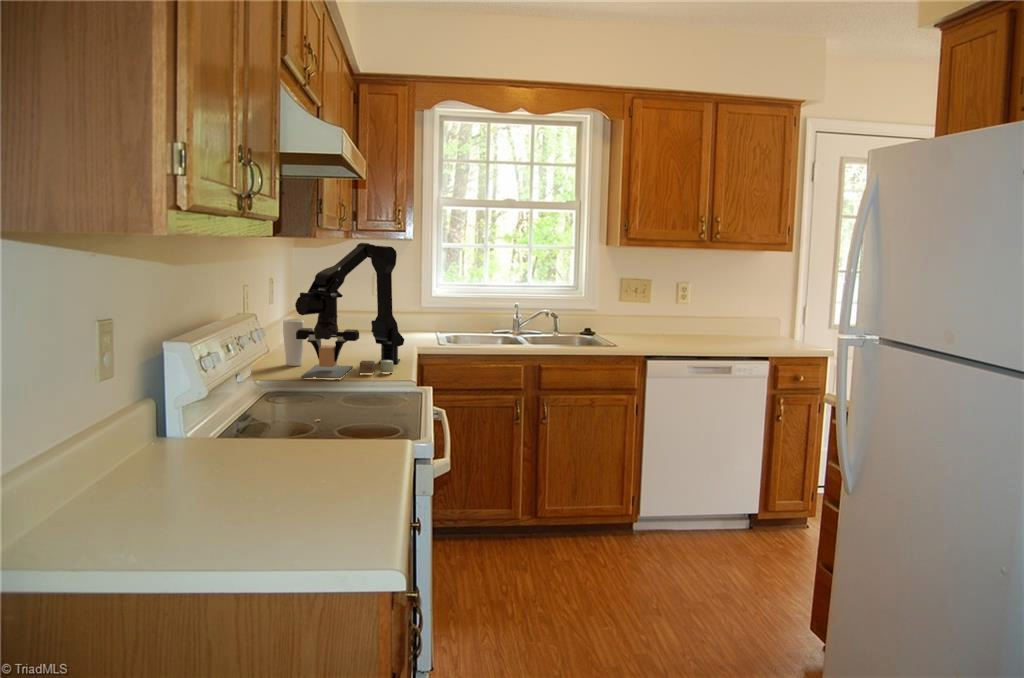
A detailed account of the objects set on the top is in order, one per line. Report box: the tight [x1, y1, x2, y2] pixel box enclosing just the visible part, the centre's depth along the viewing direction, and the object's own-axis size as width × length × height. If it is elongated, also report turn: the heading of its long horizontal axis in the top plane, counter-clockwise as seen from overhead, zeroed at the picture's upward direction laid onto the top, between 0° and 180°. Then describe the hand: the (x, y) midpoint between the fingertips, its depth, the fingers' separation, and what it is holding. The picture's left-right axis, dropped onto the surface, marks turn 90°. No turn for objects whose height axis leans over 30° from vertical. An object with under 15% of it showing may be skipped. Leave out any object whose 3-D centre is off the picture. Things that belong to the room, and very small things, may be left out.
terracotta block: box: [318, 344, 338, 367], centre depth 249 cm, size 4×4×6 cm
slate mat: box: [300, 364, 354, 378], centre depth 250 cm, size 18×12×1 cm, turn 0°
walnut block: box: [359, 360, 375, 374], centre depth 252 cm, size 4×4×4 cm
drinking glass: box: [282, 318, 305, 367], centre depth 261 cm, size 7×7×15 cm
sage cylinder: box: [380, 360, 394, 373], centre depth 254 cm, size 4×4×4 cm
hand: (328, 361), depth 249 cm, fingers closed on terracotta block, 4 cm apart
